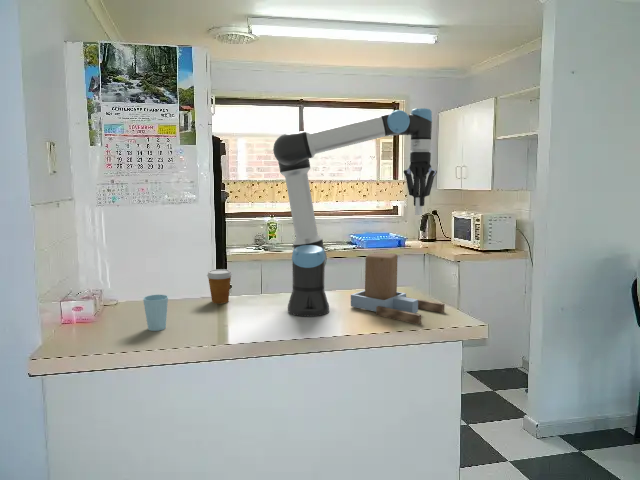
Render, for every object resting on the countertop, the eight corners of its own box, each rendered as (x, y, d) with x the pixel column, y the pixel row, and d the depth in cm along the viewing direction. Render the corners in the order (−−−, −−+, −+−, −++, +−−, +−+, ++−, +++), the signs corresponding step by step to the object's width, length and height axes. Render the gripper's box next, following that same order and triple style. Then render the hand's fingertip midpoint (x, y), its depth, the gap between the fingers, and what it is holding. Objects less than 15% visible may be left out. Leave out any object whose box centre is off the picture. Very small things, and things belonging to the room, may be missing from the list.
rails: (376, 315, 185) (376, 306, 184) (403, 303, 199) (403, 296, 199) (418, 324, 174) (419, 315, 174) (444, 311, 189) (444, 303, 188)
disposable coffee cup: (230, 304, 197) (229, 274, 196) (205, 304, 198) (204, 273, 196) (234, 298, 207) (233, 269, 205) (210, 298, 207) (209, 268, 205)
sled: (350, 306, 194) (350, 294, 193) (372, 298, 206) (372, 287, 205) (404, 317, 180) (404, 305, 179) (425, 308, 191) (425, 296, 191)
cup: (166, 332, 165) (164, 300, 164) (141, 332, 165) (140, 300, 164) (171, 324, 173) (170, 294, 171) (148, 325, 173) (146, 294, 171)
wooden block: (389, 311, 189) (391, 257, 186) (363, 308, 193) (364, 255, 190) (397, 305, 198) (398, 253, 195) (371, 302, 202) (372, 251, 199)
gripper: (400, 151, 194) (398, 214, 197) (431, 151, 186) (429, 216, 189) (410, 151, 199) (408, 212, 203) (441, 151, 191) (438, 215, 195)
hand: (418, 214), depth 196 cm, fingers closed
